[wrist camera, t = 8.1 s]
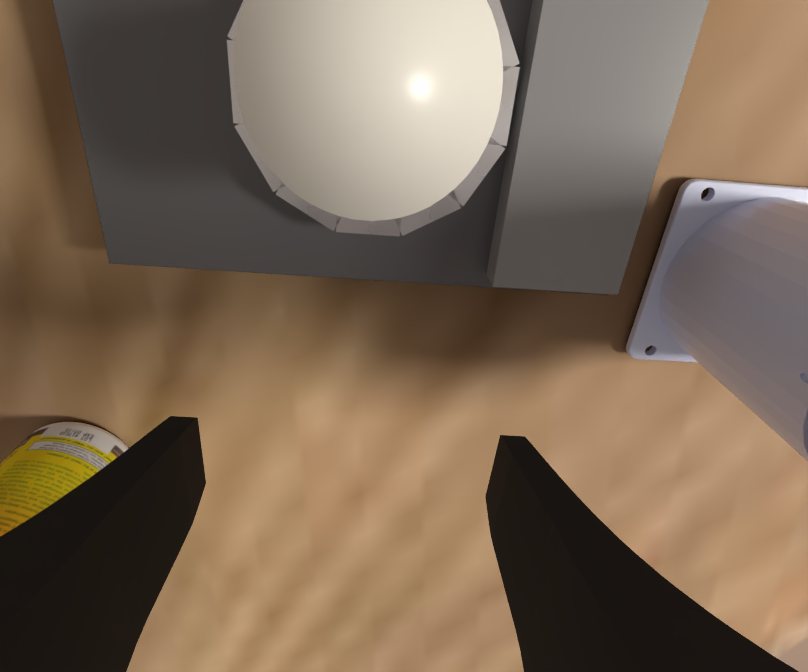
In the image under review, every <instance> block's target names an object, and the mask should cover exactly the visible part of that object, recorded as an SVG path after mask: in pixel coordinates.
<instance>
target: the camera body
mask: <svg viewBox="0 0 808 672" xmlns="http://www.w3.org/2000/svg"><path fill="white" fill-rule="evenodd" d="M242 2H243V0H53V4H54V9H55V14H56V18H57V23H58V28H59V32H60V37H61V42H62V46H63V51H64V55H65V60H66V65H67V69H68V74H69V79H70V83H71V88H72V92H73V97H74V102H75V106H76V111H77V116H78V120H79V125H80V130H81V134H82V139H83V143H84V148H85V153H86V157H87V162H88V167H89V171H90V176H91V180H92V185H93V190H94V194H95V199H96V204H97V208H98V213H99V218H100V222H101V227H102V231H103V236H104V241H105V245H106V250H107V255H108V259H109V263H112V264H128V265H143V266H159V267H175V268H190V269H206V270H222V271H238V272H253V273H269V274H285V275H301V276H316V277H332V278H348V279H363V280H379V281H395V282H411V283H426V284H442V285H458V286H474V287H489V288H505V289H521V290H536V291H552V292H568V293H584V294H599V295H609V294H614V295H618V293H619V290H620V287H621V283H622V280H623V277H624V274H625V271H626V267H627V264H628V261H629V258H630V254H631V251H632V248H633V245H634V242H635V238H636V235H637V232H638V229H639V225H640V222H641V219H642V216H643V212H644V209H645V206H646V203H647V200H648V196H649V193H650V190H651V187H652V183H653V180H654V177H655V174H656V170H657V167H658V164H659V161H660V158H661V154H662V151H663V148H664V145H665V141H666V138H667V135H668V132H669V128H670V125H671V122H672V119H673V116H674V112H675V109H676V106H677V103H678V99H679V96H680V93H681V90H682V86H683V83H684V80H685V77H686V74H687V70H688V67H689V64H690V61H691V57H692V54H693V51H694V48H695V45H696V41H697V38H698V35H699V32H700V28H701V25H702V22H703V19H704V15H705V12H706V9H707V6H708V3H709V0H500V3H501V6H502V9H503V12H504V15H505V19H506V22H507V25H508V28H509V31H510V35H511V38H512V41H513V44H514V47H515V51H516V54H517V57H518V60H519V63H520V64H518V65H516V66H514V67H520V69H519V75H518V81H517V87H516V93H515V99H514V105H513V111H512V117H511V123H510V129H509V135H508V141H507V146H503V145H501V146H503V147H504V148H505V150H504V151H503V153H502V154H501V155H500V157H499V158H498V160H497V161H496V162H495V164H494V165H493V166H492V168H491V169H490V171H489V172H488V173H487V175H486V176H485V177H484V179H483V180H482V181H481V183H480V184H479V186H478V187H477V188H476V190H475V191H474V192H473V194H472V195H471V196H470V198H469V199H468V201H467V202H466V203H465V205H464V206H462V205H461V204H460V203H459V204H460V207H461V208H460V209H458V210H456V211H454V212H452V213H450V214H448V215H445V216H443V217H441V218H439V219H437V220H435V221H433V222H431V223H429V224H427V225H425V226H422V227H420V228H418V229H416V230H414V231H412V232H410V233H408V234H406V235H404V236H402V234H401V232H400V236H385V235H371V234H356V233H342V232H336V228H335V229H334V231H332V230H331V229H329V228H327V227H326V226H324V225H323V224H321V223H320V222H318V221H316V220H315V219H313V218H312V217H310V216H309V215H307V214H306V213H304V212H302V211H301V210H299V209H298V208H296V207H295V206H293V205H291V204H290V203H288V202H287V201H285V200H284V199H282V198H280V197H279V196H277V195H276V193H277V191H278V190H276V191H275V192H273V191H272V189H271V187H270V186H269V184H268V182H267V181H266V179H265V177H264V176H263V174H262V172H261V170H260V169H259V167H258V165H257V164H256V162H255V160H254V159H253V157H252V155H251V154H250V152H249V150H248V149H247V147H246V145H245V144H244V142H243V140H242V138H241V137H240V135H239V133H238V132H237V130H236V128H235V127H234V126H236V125H238V124H237V123H233V113H232V100H231V87H230V75H229V62H228V49H227V40H232V39H231V38H229V37H228V34H229V31H230V29H231V27H232V25H233V22H234V20H235V18H236V16H237V13H238V11H239V9H240V7H241V4H242Z"/></svg>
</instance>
